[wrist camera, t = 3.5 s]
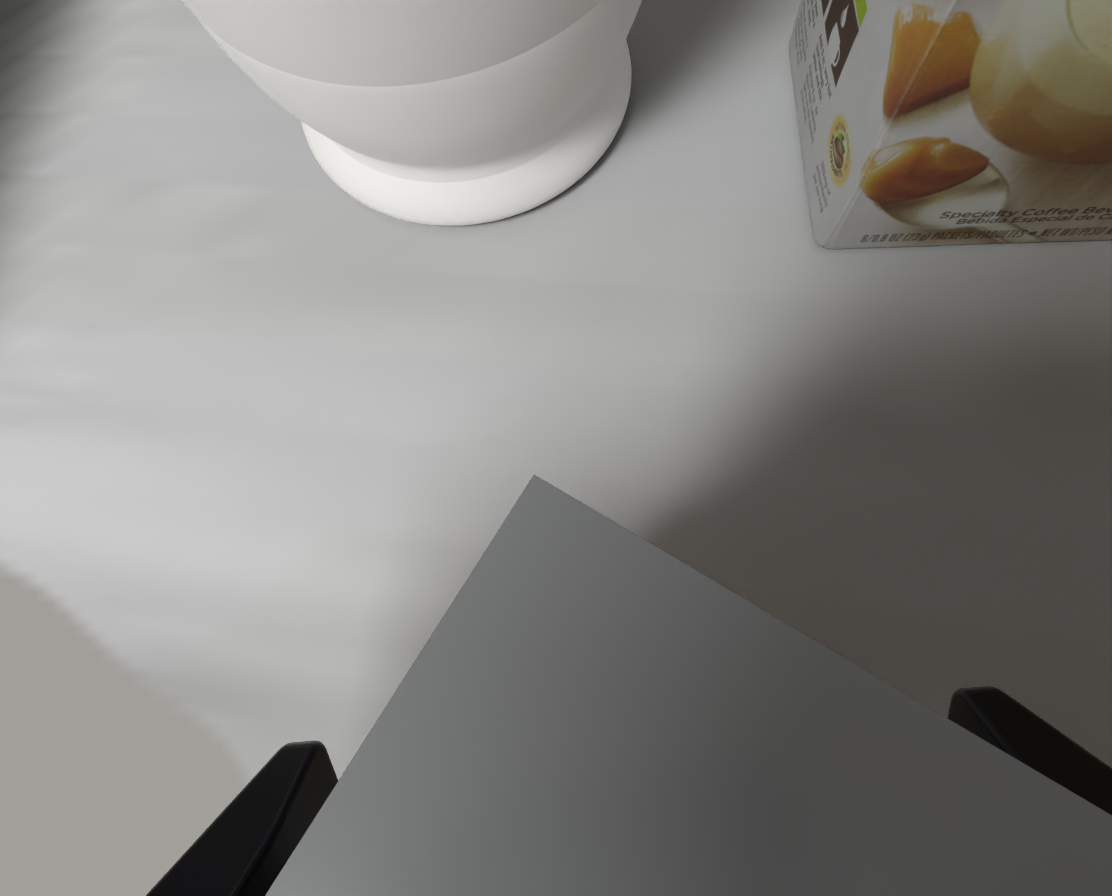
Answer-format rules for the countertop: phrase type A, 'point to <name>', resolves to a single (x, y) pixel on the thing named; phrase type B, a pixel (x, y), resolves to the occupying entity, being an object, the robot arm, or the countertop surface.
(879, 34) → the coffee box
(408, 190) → the jar
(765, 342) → the countertop surface
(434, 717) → the basalt block
